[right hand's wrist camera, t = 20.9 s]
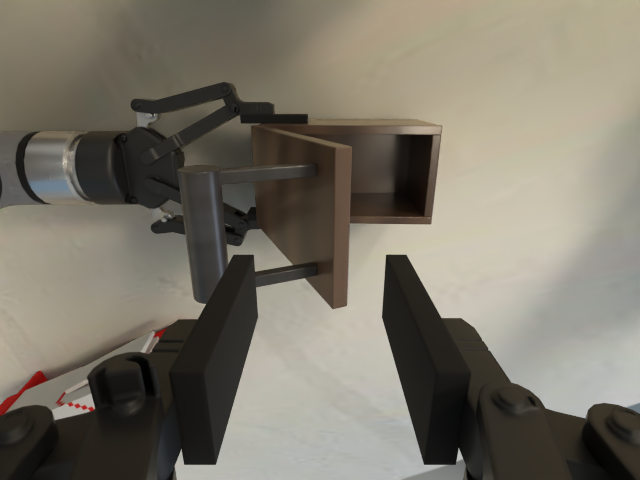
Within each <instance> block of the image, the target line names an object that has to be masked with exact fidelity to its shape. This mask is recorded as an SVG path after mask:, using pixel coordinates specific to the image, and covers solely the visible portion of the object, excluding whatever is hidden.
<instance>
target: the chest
mask: <svg viewBox="0 0 640 480" xmlns="http://www.w3.org/2000/svg"><path fill="white" fill-rule="evenodd" d="M259 125H262V126H266V127H270V128H275V129H279V130H283V131H288V132H292V133H296V134H300V135H305V136H309V137H313V138H317V139H322V140H326V141H330V142H334V143H339V144H343V145H347V146H351V147H352V164H351V195H350V223H365V224H431V221H432V212H433V203H434V194H435V185H436V176H437V167H438V158H439V149H440V141H441V132H442V126H440V125H437V124H433V123H429V122H425V121H421V120H390V119H308V123H262V124H259Z"/></svg>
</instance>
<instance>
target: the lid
mask: <svg viewBox="0 0 640 480" xmlns="http://www.w3.org/2000/svg"><path fill="white" fill-rule="evenodd" d="M251 132H252V149H253V166H254V167H242V168H227V169H219V167H217V166H211V165H196V166H187V167H182V168H180V169H178V170H177V173H178V180H179V188H180V196H181V203H182V211H183V219H184V226H185V234H186V241H187V249H188V257H189V264H190V272H191V280H192V287H193V295H194V299H195V300H196V301H197V302H199V303H203V304H207V302H208V300H209V299H210V297H211V295H212V293H213V291H214V290H215V288H216V286H217V284H218V282H219V281H220V279H221V277H222V275H223V273H224V271H225V270H226V268H227V266H228V254H227V243H226V232H225V221H224V210H223V199H222V188H221V184H233V183H245V182H254V183H255V200H256V216H257V225H258V226H259V227H260V228H261V230H262V231H263V232H264V233H265V234H266V235H267V236H268V237H269V239H270V240H271V241H272V242H273V243H274V244H275V245H276V246H277V247H278V249H279V250H280V251H281V252H282V253H283V254H284V255H285V256H286V258H287V259H288V260H289V261H290V262H291V263H292V264H293V265H292V266H286V267H280V268H275V269H269V270H263V271H257V272H255V281H256V287H260V286H265V285H271V284H276V283H281V282H286V281H292V280H297V279H302V278H305V279H306V280H307V281H308V282H309V283H310V284H311V285H312V287H313V288H314V289H315V290H316V291H317V292H318V293H319V294H320V296H321V297H322V298H323V299H324V300H325V301H326V302H327V303H328V304H329V306H330V307H331V308H332V309H336V308H340V307H344V306H347V290H348V258H349V227H350V195H351V164H352V147H351V146H347V145H343V144H339V143H334V142H330V141H326V140H322V139H317V138H313V137H309V136H305V135H300V134H296V133H292V132H288V131H283V130H279V129H275V128H270V127H266V126H262V125H253V126H251Z"/></svg>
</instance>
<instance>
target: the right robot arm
mask: <svg viewBox="0 0 640 480" xmlns="http://www.w3.org/2000/svg"><path fill="white" fill-rule="evenodd" d="M257 318H258V311H257V296H256V281H255V266H254V255H233V257H232V259H231V261H230V262H229V264H228V266H227V268H226V270H225V271H224V273H223V275H222V277H221V279H220V281H219V282H218V284H217V286H216V288H215V290H214V291H213V293H212V295H211V297H210V299H209V300H208V302H207V304H206V306H205V308H204V309H203V311H202V313H201V315H200V317H199V318H198V319H179V320H178V321H176V322H175V323H174V324H172V325H171V326H169V327H168V328H167V329H166V330H165V331H164V333H163V334H162V336H161V337H160V339H159V340H158V343H156V345H155V346H154V348H153V349H152V352H150V354H147V353H143V352H127V353H123V354H119V355H115V356H113V357H111V358H109V359H106V360H104V361H102V362H101V363H100V364H98V365H97V366H96V367H94V368H93V369H92V370H91V372H90V373H89V374H88V376H87V380H88V383H89V387H90V391H91V395H92V398H93V402H94V406H95V409H94V410H93V411H90V412H87V413H83V414H79V415H75V416H70V417H66V418H62V419H58V420H55V419H54V415H53V412H52V411H51V410H50V409H49V408H48V407H47V406H41V405H30V406H23V407H20V408H17V409H14V410H12V411H9V412H7V413H5V414H3V415H1V416H0V480H177V479H176V472H175V467H174V466H175V463H176V461H177V458H178V456H179V453H180V451H181V448H182V454H183V460H184V465H216V462H217V459H218V455H219V452H220V448H221V445H222V441H223V438H224V434H225V431H226V427H227V424H228V420H229V417H230V413H231V410H232V406H233V403H234V399H235V396H236V392H237V389H238V385H239V382H240V378H241V375H242V371H243V368H244V364H245V361H246V357H247V353H248V350H249V346H250V343H251V339H252V336H253V332H254V329H255V325H256V322H257ZM382 318H383V322H384V325H385V329H386V332H387V336H388V339H389V343H390V346H391V350H392V353H393V357H394V361H395V364H396V368H397V371H398V375H399V378H400V382H401V385H402V389H403V392H404V396H405V399H406V403H407V406H408V410H409V413H410V417H411V420H412V424H413V427H414V431H415V434H416V438H417V441H418V445H419V448H420V452H421V455H422V459H423V462H424V465H455V464H456V460H457V454H458V448H459V449H460V451H461V454H462V456H463V459H464V461H465V464H466V467H465V472H464V477H463V480H640V414H639V413H637V412H635V411H633V410H631V409H628V408H625V407H622V406H619V405H614V404H607V403H602V404H595V405H593V406H592V407H591V408H590V409H589V410H588V412H587V415H586V419H585V418H581V417H576V416H572V415H568V414H564V413H559V412H555V411H552V410H549V409H545V407H544V405H543V404H542V402H541V401H540V399H539V398H538V397H537V396H535V395H534V394H533V393H532V392H531V391H529V390H527V389H525V388H524V387H522V386H520V385H518V384H514V383H511V382H510V380H509V379H508V377H507V376H506V374H505V373H504V371H503V370H502V368H501V367H500V365H499V364H498V362H497V361H496V359H495V358H494V356H493V355H492V353H491V352H490V351H488V347H487V346H486V344H485V343H484V342H483V341H482V339H481V337H480V336H479V334H478V333H477V331H476V330H475V328H474V327H472V326H471V325H470V324H468V323H467V322H465V321H464V320H463V319H461V318H441V317H440V315H439V313H438V311H437V309H436V308H435V306H434V304H433V302H432V300H431V299H430V297H429V295H428V293H427V291H426V290H425V288H424V286H423V284H422V282H421V281H420V279H419V277H418V275H417V273H416V271H415V270H414V268H413V266H412V264H411V262H410V261H409V259H408V257H407V255H386V266H385V281H384V296H383V311H382Z"/></svg>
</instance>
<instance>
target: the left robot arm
mask: <svg viewBox="0 0 640 480" xmlns="http://www.w3.org/2000/svg"><path fill="white" fill-rule="evenodd" d="M222 98H223V99H224V102H225V104H226V106H224V107H222V108H221V109H219V110H217V111H215V112H214V113H212V114H210V115H208V116H207V117H205V118H203V119H202V120H200V121H198V122H196V123H195V124H193V125H191V126H189V127H188V128H186V129H184V130H183V131H181V132H179V133H177V134H175V135H173V136H171V137H170V138H168V139H167V138H166V137H164V136H163V135H161V134H160V133H158V132H157V131H155V130H154V129H152V128H151V123H152V122H154V121H158V120H159V119H160V118H161V113H169V112H174V111H177V110H181V109H185V108H188V107H192V106H196V105H200V104H203V103H207V102H211V101H215V100H218V99H222ZM131 108H132V109H133V110H134V111H135V112H136V118H137V127H136V128H134V129H132V130H131V131H91V132H88V133H86V132H83V131H42V132H0V209H1V208H4V207H7V206H12V205H31V204H70V205H91V204H95V203H96V204H139V205H143V206H145V207H147V208H149V209H150V210H151V213H152V217H153V221H154V223H153V224H152V225H151V230H152V231H153V232H154V233H157V234H159V233H168V232H175V233H180V234H185V226H184V219H183V216H182V215H174V213H173V212H172V211H168V210H165V209H164V208H163V206H162V205H163V204H164V203H165V202H167V201H168V200H169V199H171V200H173V201H175V202H177V203H179V204H182V203H181V196H180V188H179V180H178V173H177V170H178V169H180V168H182V167H184V160H185V159H184V152H182V151H181V148H183V147H184V146H186V145H188V144H190V143H191V142H193V141H194V140H196V139H198V138H200V137H201V136H203V135H205V134H207V133H208V132H210V131H212V130H214V129H215V128H217V127H219V126H221V125H222V124H224V123H226V122H228V121H229V120H231V119H233V118H235V117H236V116H238V115H240V120H241V123H308V114H275V111H274V104H272V103H270V102H243V101H241V100H240V99H239V97H238V95H237V92H236V88H235V86H234V85H233V84H231V83H226V82H222V83H219V84H215V85H211V86H208V87H204V88H200V89H197V90H193V91H189V92H186V93H182V94H178V95H175V96H171V97H167V98H163V99H160V100H152V99H134V100H132V102H131ZM223 210H224V221H225V223H226V224H228V225H230V226H227V225H225V232H226V243H227V244H230V245H234V246H240V245H241V244H242V242H243V240H244V238H245V236H246V233H247V231H248V230H250V229H261V228H260V227H259V226H258V225H257V216H256V207H251V208H250V210H249V212H248V213H244V212H242V211H240V210H238V209H236V208H234V207H232V206H230V205H228V204H226V203H224V202H223ZM185 235H186V234H185Z"/></svg>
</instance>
